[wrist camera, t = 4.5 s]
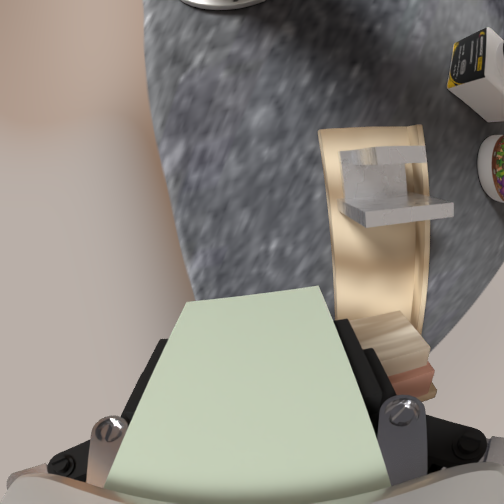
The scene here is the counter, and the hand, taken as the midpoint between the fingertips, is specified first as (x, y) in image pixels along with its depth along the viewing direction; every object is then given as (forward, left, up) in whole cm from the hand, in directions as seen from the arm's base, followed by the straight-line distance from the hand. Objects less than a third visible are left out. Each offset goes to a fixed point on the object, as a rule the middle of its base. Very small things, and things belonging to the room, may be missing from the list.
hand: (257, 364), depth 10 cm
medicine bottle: (-16, +26, -17) cm, 35 cm away
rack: (+2, +11, -16) cm, 20 cm away
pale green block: (0, 0, -2) cm, 2 cm away
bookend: (-5, +11, -15) cm, 19 cm away
